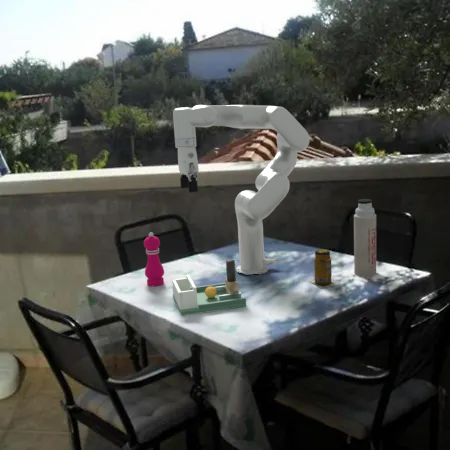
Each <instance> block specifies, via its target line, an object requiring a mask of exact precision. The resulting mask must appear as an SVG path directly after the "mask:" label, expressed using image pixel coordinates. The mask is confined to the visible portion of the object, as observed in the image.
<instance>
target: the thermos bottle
mask: <svg viewBox="0 0 450 450" xmlns="http://www.w3.org/2000/svg"><path fill="white" fill-rule="evenodd" d="M357 203H358V205H357V206H358V207H357V208H355V211H354V212H355V214H354V215H353V250H354V251H353V254H354V255H353V256H354V257H353V262H354V265H353V266H354V271H353V273H354V275H355V276H358V277H360V278H361V277H364V278H368V277H373V276H376V275H377V214H376V213H375V208H374V207H373V205H372V199H369V198H361V199H357Z"/></svg>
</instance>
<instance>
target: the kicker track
mask: <svg viewBox="0 0 450 450" xmlns="http://www.w3.org/2000/svg"><path fill="white" fill-rule="evenodd" d="M214 288H215V289H216V291H217V293H219V292H226V285H225V286H218V287H214ZM241 297H242V292H241V291H239V292H238V293H233V294H226V295H219V301H224V300H231V299H238V298H241Z"/></svg>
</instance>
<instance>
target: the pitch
mask: <svg viewBox="0 0 450 450" xmlns="http://www.w3.org/2000/svg"><path fill="white" fill-rule="evenodd" d="M225 285H226V283H225V282H221V283H220V282H219V283H214V284H206V285H198V286H196V289H197V303H198V307H197V308H190V309H183V310H180V309H179V307H178V305H177V302H176V300H175V298H174V296H173V295H172V298H173V301H174V302H175V305H176V307H177V309H178V312H179V313H180V316H181V315H182V316H187V315H194V314H202V313H208V312H209V313H210V312H216V311H222V310H228V309H235V308H243V307H247V298H246V297H243V296H241V298H238V299H231V300H224V301H219V295H226V294H227V292H219V293H217V294H216V296H215V297H214V298H208V297H207V296H206V295H205V290H206V288H208V287H210V286H211V287H218V286H225ZM190 290H193V289H192V287H191V286H190Z"/></svg>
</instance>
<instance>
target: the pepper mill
mask: <svg viewBox="0 0 450 450" xmlns="http://www.w3.org/2000/svg"><path fill="white" fill-rule="evenodd" d="M154 234H155V233H153V232H149V233H148V236H147V237H146V238H145V239H144V240H143V246H144V248H145V253H146V255H147V262H146V265H145V269H144V274H145V277H146V278H147V279H146V283H147V286H149V287H159V286H162V285H164V284H165V283H164V282H165V281H164V280H165V279H164V277H163V276H164V274H165V269H164V266H163V264H162V263H161V261H160V256H159V253H160V248H159V247H160V245H161V241H160V239H159V237H157V236H155V235H154Z"/></svg>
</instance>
